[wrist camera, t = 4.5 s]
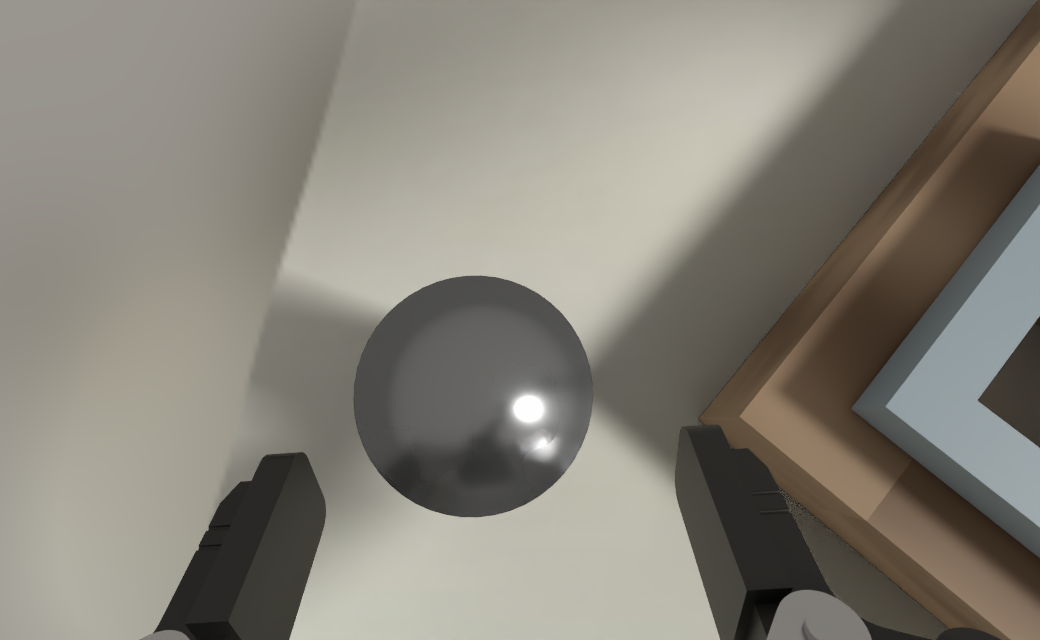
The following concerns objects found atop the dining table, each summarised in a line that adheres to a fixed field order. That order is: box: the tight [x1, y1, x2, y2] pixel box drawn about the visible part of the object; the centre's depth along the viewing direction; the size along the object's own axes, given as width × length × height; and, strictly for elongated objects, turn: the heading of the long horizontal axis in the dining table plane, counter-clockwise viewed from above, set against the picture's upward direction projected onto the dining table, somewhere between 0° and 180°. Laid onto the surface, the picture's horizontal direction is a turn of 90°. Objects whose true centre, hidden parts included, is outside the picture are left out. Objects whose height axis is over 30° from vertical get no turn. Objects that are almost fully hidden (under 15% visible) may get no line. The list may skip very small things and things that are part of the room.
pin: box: [354, 276, 593, 517], centre depth 14 cm, size 4×4×10 cm
